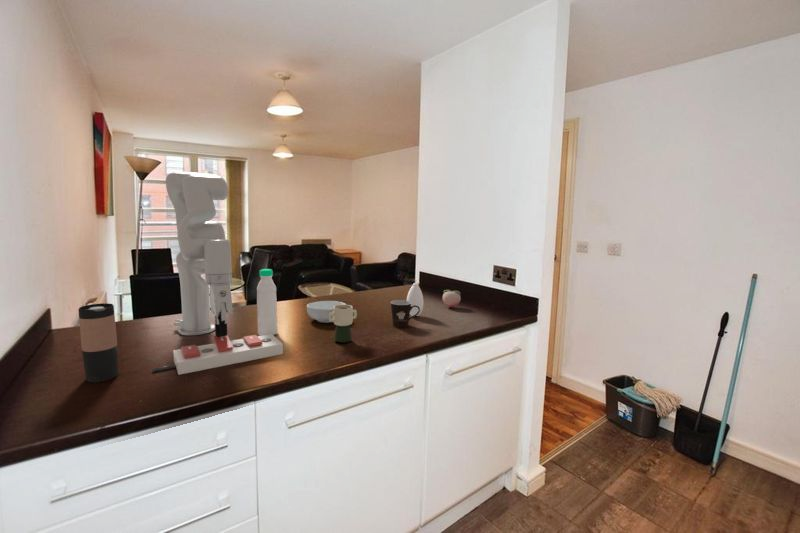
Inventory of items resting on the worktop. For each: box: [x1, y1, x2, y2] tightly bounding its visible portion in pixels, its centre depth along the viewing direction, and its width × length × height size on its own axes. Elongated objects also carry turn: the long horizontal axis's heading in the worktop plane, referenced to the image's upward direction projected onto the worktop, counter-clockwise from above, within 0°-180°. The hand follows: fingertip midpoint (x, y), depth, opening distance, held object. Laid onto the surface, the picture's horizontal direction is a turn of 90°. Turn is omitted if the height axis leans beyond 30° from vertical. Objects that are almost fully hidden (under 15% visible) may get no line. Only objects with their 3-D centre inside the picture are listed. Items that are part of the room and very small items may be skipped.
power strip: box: [151, 334, 284, 376], centre depth 119 cm, size 36×12×4 cm, turn 126°
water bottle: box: [256, 268, 278, 336], centre depth 142 cm, size 7×7×25 cm
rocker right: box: [242, 334, 262, 347], centre depth 124 cm, size 4×8×1 cm, turn 36°
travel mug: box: [78, 302, 120, 383], centre depth 103 cm, size 8×8×20 cm
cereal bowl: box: [306, 300, 347, 324], centre depth 164 cm, size 17×17×7 cm
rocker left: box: [180, 344, 200, 358], centre depth 114 cm, size 4×8×1 cm, turn 36°
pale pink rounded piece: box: [442, 289, 462, 309], centre depth 191 cm, size 9×8×10 cm
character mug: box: [329, 304, 358, 343], centre depth 137 cm, size 11×7×13 cm, turn 122°
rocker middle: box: [213, 334, 233, 352], centre depth 118 cm, size 4×8×1 cm, turn 36°
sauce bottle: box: [406, 278, 424, 317], centre depth 173 cm, size 8×8×18 cm
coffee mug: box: [390, 299, 420, 329], centre depth 158 cm, size 12×9×10 cm
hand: (221, 335), depth 120 cm, fingers closed
